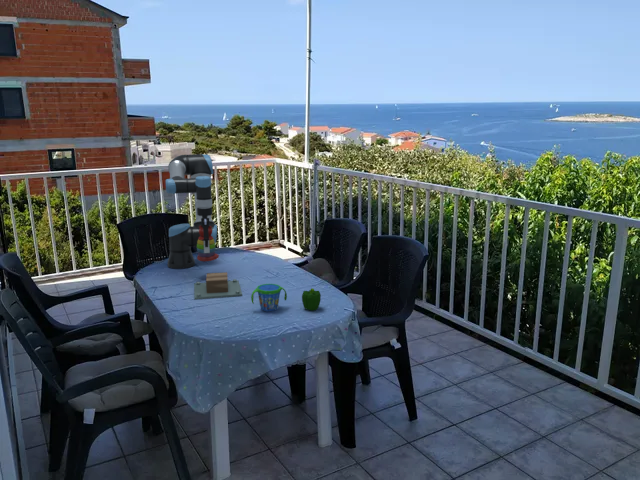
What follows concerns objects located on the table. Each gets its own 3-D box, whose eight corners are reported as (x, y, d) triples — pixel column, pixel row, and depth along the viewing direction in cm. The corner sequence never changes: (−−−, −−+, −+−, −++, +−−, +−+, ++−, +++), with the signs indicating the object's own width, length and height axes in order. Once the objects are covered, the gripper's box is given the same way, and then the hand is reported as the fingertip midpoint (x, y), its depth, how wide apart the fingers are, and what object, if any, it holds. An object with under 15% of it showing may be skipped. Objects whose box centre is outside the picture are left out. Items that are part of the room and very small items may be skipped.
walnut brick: (207, 284, 259) (206, 273, 258) (227, 283, 261) (227, 272, 260) (206, 293, 247) (206, 281, 245) (228, 292, 248) (227, 280, 247)
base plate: (194, 285, 262) (194, 281, 261) (238, 282, 267) (238, 278, 266) (194, 299, 241) (194, 295, 241) (242, 296, 246) (242, 292, 246)
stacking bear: (219, 256, 274) (218, 223, 269) (214, 262, 264) (212, 227, 260) (199, 255, 275) (198, 222, 270) (193, 261, 265) (191, 227, 261)
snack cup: (285, 303, 236) (284, 282, 234) (288, 311, 226) (288, 289, 224) (250, 306, 233) (249, 284, 230) (252, 314, 223) (252, 292, 220)
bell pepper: (302, 305, 234) (302, 284, 232) (320, 305, 234) (320, 284, 231) (301, 312, 226) (301, 290, 223) (320, 312, 225) (320, 290, 223)
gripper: (196, 203, 272) (198, 245, 277) (197, 211, 251) (199, 256, 257) (211, 203, 274) (213, 244, 279) (212, 211, 253) (214, 255, 258)
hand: (206, 250), depth 268 cm, fingers closed on stacking bear, 9 cm apart
